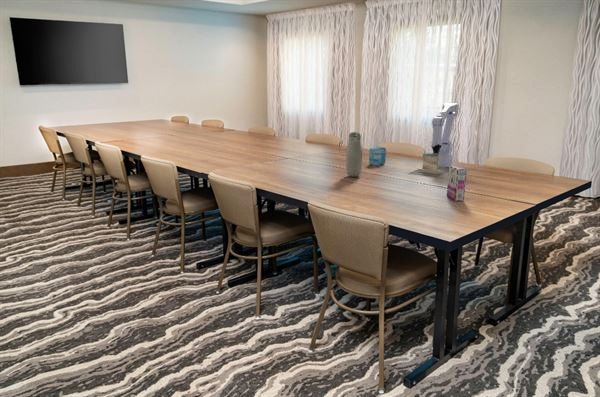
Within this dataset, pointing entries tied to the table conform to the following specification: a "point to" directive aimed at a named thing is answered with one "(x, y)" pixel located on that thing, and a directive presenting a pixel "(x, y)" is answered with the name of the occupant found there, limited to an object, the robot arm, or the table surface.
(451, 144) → the robot arm
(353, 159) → the glass bottle
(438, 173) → the rubber mat
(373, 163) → the data package
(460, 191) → the candy bar box
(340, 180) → the table surface
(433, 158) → the ash slab
